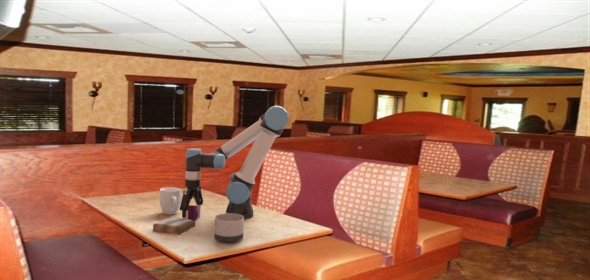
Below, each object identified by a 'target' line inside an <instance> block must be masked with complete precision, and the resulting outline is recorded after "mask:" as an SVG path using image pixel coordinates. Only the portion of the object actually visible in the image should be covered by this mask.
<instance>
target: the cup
mask: <svg viewBox="0 0 590 280" xmlns="http://www.w3.org/2000/svg"><path fill="white" fill-rule="evenodd" d="M187 211H188V219H189V220H193V221H195V222H196V221H197V220H198V218H199V217H198V211H197V206H195V205H193V204H189V206H188V209H187Z"/></svg>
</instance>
